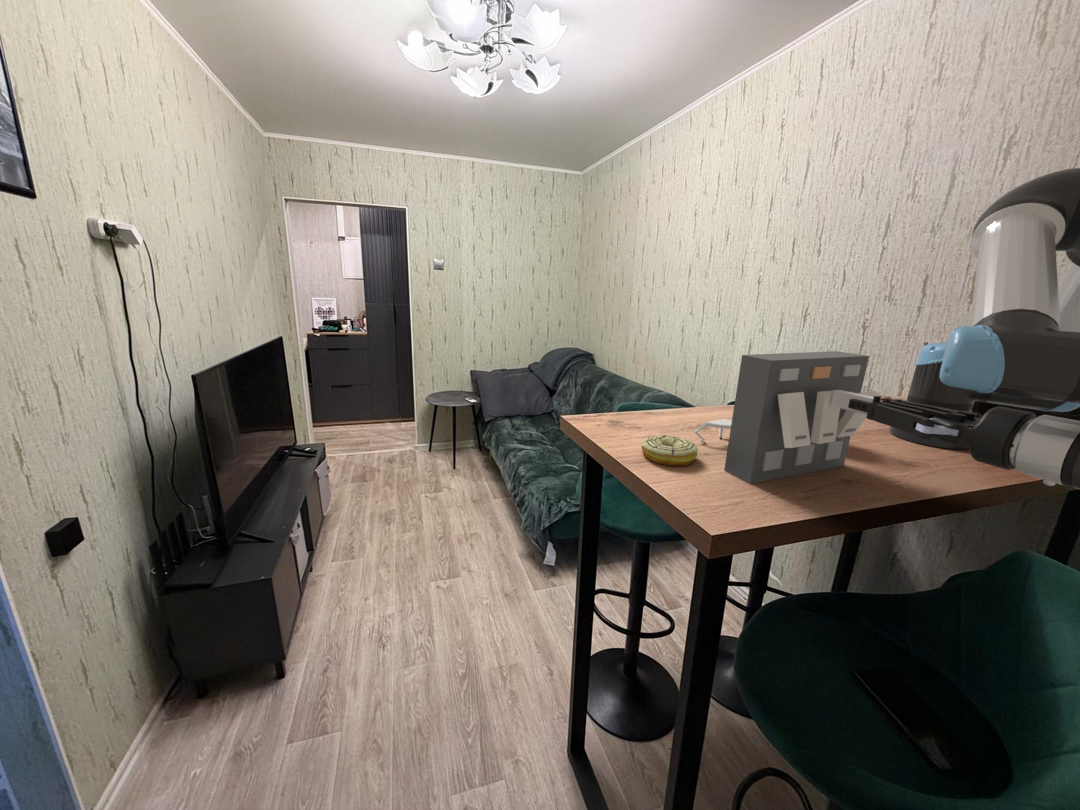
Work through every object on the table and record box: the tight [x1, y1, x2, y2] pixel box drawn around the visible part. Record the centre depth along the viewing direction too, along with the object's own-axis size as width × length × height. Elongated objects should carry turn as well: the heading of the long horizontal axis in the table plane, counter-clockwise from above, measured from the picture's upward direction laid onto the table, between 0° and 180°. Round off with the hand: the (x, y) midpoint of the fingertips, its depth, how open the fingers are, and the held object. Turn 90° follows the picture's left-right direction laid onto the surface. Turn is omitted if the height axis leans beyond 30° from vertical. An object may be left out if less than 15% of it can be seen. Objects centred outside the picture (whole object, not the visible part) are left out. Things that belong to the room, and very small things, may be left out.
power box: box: [724, 350, 870, 484], centre depth 81 cm, size 6×25×22 cm, turn 112°
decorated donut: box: [640, 435, 699, 467], centre depth 87 cm, size 10×11×4 cm
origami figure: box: [693, 418, 732, 443], centre depth 96 cm, size 12×8×5 cm
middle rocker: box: [811, 390, 840, 444], centre depth 75 cm, size 2×4×9 cm, turn 112°
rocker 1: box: [778, 392, 811, 448], centre depth 72 cm, size 2×4×9 cm, turn 112°
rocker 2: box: [836, 390, 882, 437], centre depth 79 cm, size 2×4×9 cm, turn 112°
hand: (835, 397), depth 74 cm, fingers closed
